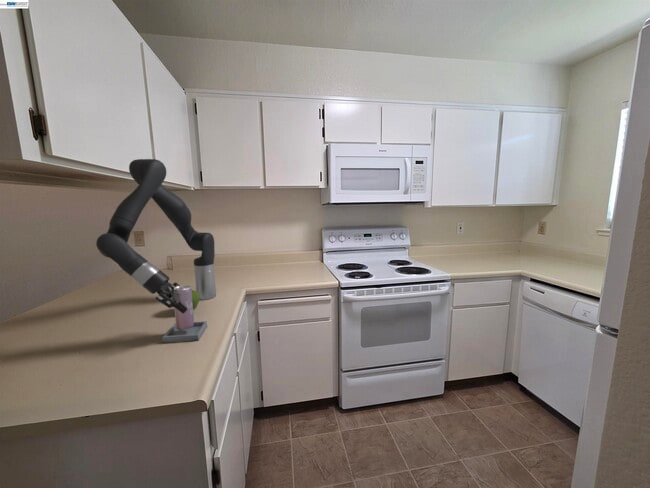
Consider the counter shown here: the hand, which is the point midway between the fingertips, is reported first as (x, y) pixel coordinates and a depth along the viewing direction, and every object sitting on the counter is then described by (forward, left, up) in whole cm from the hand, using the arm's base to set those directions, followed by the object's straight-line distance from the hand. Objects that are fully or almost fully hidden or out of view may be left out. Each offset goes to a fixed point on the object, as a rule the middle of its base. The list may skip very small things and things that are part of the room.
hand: (188, 307), depth 102 cm
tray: (0, -2, -10) cm, 10 cm away
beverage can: (0, -2, -7) cm, 8 cm away
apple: (-23, -9, -10) cm, 27 cm away
